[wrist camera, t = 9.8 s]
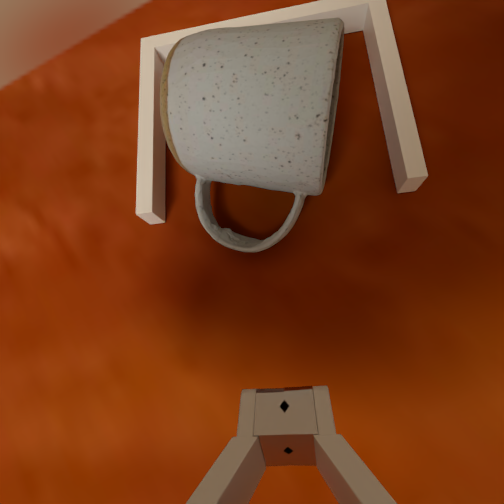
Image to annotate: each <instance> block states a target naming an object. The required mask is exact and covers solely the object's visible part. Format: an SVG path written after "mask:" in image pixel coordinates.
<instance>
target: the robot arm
mask: <svg viewBox="0 0 504 504" xmlns="http://www.w3.org/2000/svg"><path fill="white" fill-rule="evenodd" d="M285 465H305V466H317V468H318V470H319V472H320V473H321V475H322V477H323V478H324V480H325V481H326V483H327V485H328V486H329V488H330V490H331V491H332V493H333V494H334V496H335V498H336V499H337V501H338V503H339V504H397V503H396V502H395V501H394V500H393V498H392V497H391V496H390V495H389V493H388V492H387V491H386V490H385V488H384V487H383V486H382V485H381V483H380V482H379V481H378V480H377V478H376V477H375V476H374V475H373V474H372V472H371V471H370V470H369V469H368V467H367V466H366V465H365V464H364V462H363V461H362V460H361V459H360V457H359V456H358V455H357V454H356V452H355V451H354V450H353V449H352V447H351V446H350V445H349V444H348V443H347V441H346V440H345V439H344V438H343V436H342V435H341V434H336V430H335V424H334V418H333V413H332V407H331V401H330V395H329V389H328V387H327V385H326V386H313V387H312V386H302V387H286V388H270V389H243V390H242V393H241V400H240V409H239V419H238V429H237V437H232V438H231V440H230V441H229V443H228V444H227V446H226V447H225V448H224V450H223V451H222V453H221V454H220V456H219V457H218V458H217V460H216V461H215V463H214V464H213V466H212V467H211V468H210V470H209V471H208V473H207V474H206V476H205V477H204V478H203V480H202V481H201V483H200V484H199V486H198V487H197V488H196V490H195V491H194V493H193V494H192V496H191V497H190V498H189V500H188V501H187V503H186V504H248V503H249V501H250V499H251V497H252V495H253V493H254V491H255V489H256V487H257V485H258V483H259V481H260V479H261V477H262V475H263V473H264V471H265V469H266V466H285Z"/></svg>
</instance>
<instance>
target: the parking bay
mask: <svg viewBox="0 0 504 504" xmlns="http://www.w3.org/2000/svg"><path fill="white" fill-rule="evenodd" d="M329 18H340V19H342V21H343V22H344V28H345V29H344V34H346V33H351V32H357V31H362V30H363V33H364V37H365V42H366V47H367V52H368V57H369V61H370V66H371V71H372V76H373V80H374V85H375V90H376V95H377V99H378V104H379V109H380V114H381V118H382V123H383V128H384V133H385V138H386V142H387V147H388V152H389V157H390V161H391V166H392V171H393V176H394V180H395V185H396V190H397V193H404V192H412V191H416V190H417V189H418V188H419V186H420V185H421V184H422V183H423V181H424V180H425V179H426V178H427V177H428V173H427V168H426V164H425V160H424V156H423V152H422V148H421V144H420V140H419V135H418V131H417V127H416V123H415V119H414V115H413V111H412V107H411V102H410V98H409V94H408V90H407V86H406V82H405V78H404V74H403V69H402V65H401V61H400V57H399V53H398V49H397V45H396V40H395V36H394V32H393V28H392V24H391V20H390V16H389V12H388V7H387V3H386V0H320V1H315V2H311V3H306V4H301V5H297V6H292V7H287V8H282V9H278V10H273V11H268V12H264V13H259V14H254V15H250V16H245V17H240V18H235V19H231V20H226V21H221V22H217V23H212V24H207V25H202V26H198V27H193V28H188V29H184V30H179V31H174V32H169V33H165V34H160V35H155V36H151V37H146V38H141V55H140V89H139V122H138V156H137V190H136V215H138V216H139V217H141V218H142V219H143V220H145V221H146V222H148V223H149V224H158V223H165V163H166V138H165V135H164V131H163V127H162V123H161V115H160V81H161V76H162V71H163V67H164V64H165V61H166V58H167V56H168V53H169V52H170V50H171V49H172V47H173V46H174V45H175V44H176V43H177V42H178V41H179V40H180V39H182V38H184V37H186V36H188V35H191V34H194V33H198V32H201V31H204V30H208V29H216V28H225V27H244V26H254V25H264V24H273V23H285V22H297V21H308V20H319V19H329Z"/></svg>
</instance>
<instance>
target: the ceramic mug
mask: <svg viewBox="0 0 504 504" xmlns="http://www.w3.org/2000/svg"><path fill="white" fill-rule="evenodd" d="M344 29H345V28H344V22H343V21H342V19H340V18H329V19H319V20H308V21H297V22H285V23H273V24H264V25H254V26H244V27H225V28H216V29H208V30H204V31H201V32H198V33H194V34H191V35H188V36H186V37H184V38H182V39H180V40H179V41H178V42H177V43H176V44H175V45H174V46H173V47H172V49H171V50H170V52H169V53H168V56H167V58H166V61H165V64H164V67H163V71H162V76H161V81H160V115H161V123H162V127H163V131H164V135H165V138H166V141H167V144H168V147H169V149H170V151H171V153H172V154H173V156H174V158H175V159H176V161H177V162H178V163H179V164H180V166H181V167H182V168H183V169H185V170H186V171H187V172H189V173H191V174H193V175H195V176H196V178H197V182H196V185H195V203H196V209H197V213H198V217H199V219H200V222H201V224H202V225H203V227H204V228H205V230H206V231H207V232H208V233H209V234H210V236H211V237H212V238H213V239H214V240H216V241H217V242H218V243H220V244H222V245H223V246H226V247H228V248H231V249H234V250H238V251H241V252H260V251H262V250H265V249H268V248H270V247H272V246H273V245H275V244H276V243H278V242H279V241H280V240H281V239H283V238H284V237H285V236H286V235H287V234H288V233H289V231H290V230H291V229H292V227H293V226H294V224H295V222H296V220H297V218H298V216H299V214H300V212H301V209H302V207H303V204H304V200H305V198H306V196H307V195H314V196H315V195H320V194H321V193H322V191H323V188H324V184H325V180H326V173H327V167H328V164H329V157H330V151H331V145H332V137H333V131H334V123H335V117H336V109H337V102H338V95H339V84H340V73H341V63H342V52H343V40H344ZM212 180H213V181H218V182H222V183H231V184H236V185H249V186H255V187H260V188H265V189H269V190H277V191H284V192H291V193H294V194H295V202H294V205H293V208H292V209H291V211H290V213H289V215H288V217H287V219H286V220H285V222H284V224H283V225H282V227H281V228H280V229H279V230H278V231H277V232H275V233H274V234H273V235H272V236H271V237H268V238H266V239H265V240H258V239H255V238H250V237H246V236H242V235H240V234H237V233H234V232H233V231H232V230H231V229H230V228H221V227H220V226H219V225H218V223H217V221H216V219H215V218H214V216H213V213H212V206H211V204H210V184H211V181H212Z"/></svg>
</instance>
